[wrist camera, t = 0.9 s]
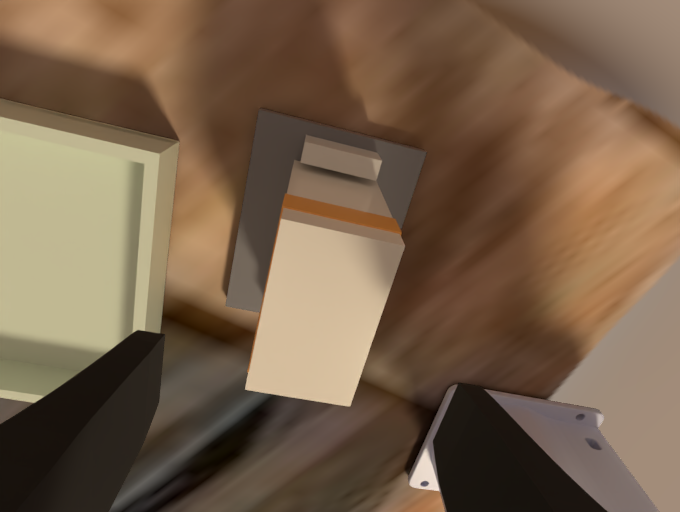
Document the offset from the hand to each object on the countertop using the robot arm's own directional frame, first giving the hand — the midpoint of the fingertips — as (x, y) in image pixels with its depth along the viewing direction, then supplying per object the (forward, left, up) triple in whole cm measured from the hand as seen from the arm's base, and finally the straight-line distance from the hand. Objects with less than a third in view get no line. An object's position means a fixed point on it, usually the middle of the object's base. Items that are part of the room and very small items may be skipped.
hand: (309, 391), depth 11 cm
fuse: (0, 0, -10) cm, 10 cm away
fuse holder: (0, 0, -10) cm, 10 cm away
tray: (+13, +4, -10) cm, 17 cm away
